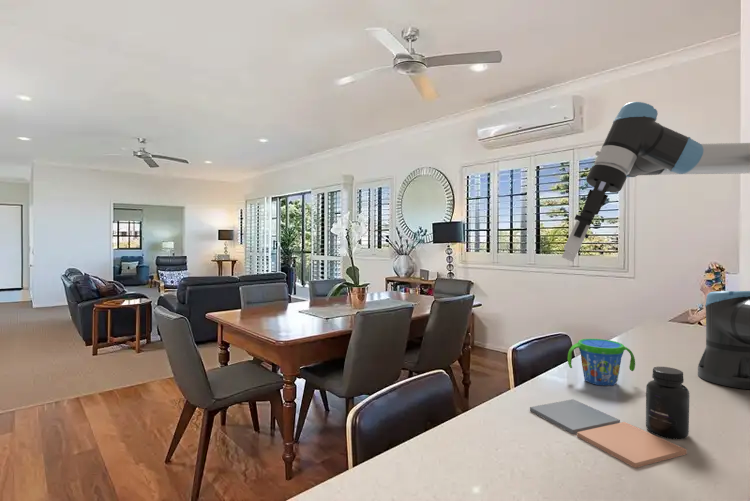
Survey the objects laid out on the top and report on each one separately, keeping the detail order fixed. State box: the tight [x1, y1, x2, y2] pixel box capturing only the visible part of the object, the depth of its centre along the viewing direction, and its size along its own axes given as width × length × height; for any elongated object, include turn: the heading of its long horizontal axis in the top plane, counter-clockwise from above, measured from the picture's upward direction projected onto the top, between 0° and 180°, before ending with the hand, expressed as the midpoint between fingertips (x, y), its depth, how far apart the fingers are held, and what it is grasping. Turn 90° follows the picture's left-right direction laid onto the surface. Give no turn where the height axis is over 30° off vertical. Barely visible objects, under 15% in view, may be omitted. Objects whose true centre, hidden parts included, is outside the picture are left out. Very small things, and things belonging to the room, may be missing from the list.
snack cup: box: [567, 338, 636, 387], centre depth 110 cm, size 16×10×10 cm
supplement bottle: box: [645, 366, 691, 440], centre depth 81 cm, size 7×7×12 cm
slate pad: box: [529, 398, 621, 435], centre depth 89 cm, size 12×12×1 cm
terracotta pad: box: [576, 421, 688, 469], centre depth 77 cm, size 12×12×1 cm
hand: (568, 255), depth 97 cm, fingers open, 13 cm apart
